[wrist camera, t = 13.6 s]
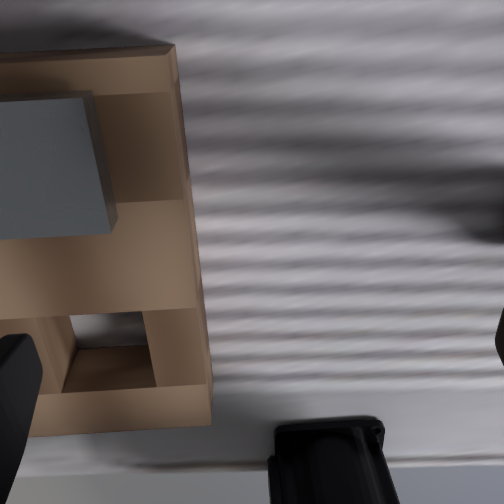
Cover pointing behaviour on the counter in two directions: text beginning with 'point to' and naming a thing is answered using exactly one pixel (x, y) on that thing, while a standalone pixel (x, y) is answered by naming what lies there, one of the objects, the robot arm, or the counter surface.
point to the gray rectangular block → (53, 167)
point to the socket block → (116, 256)
